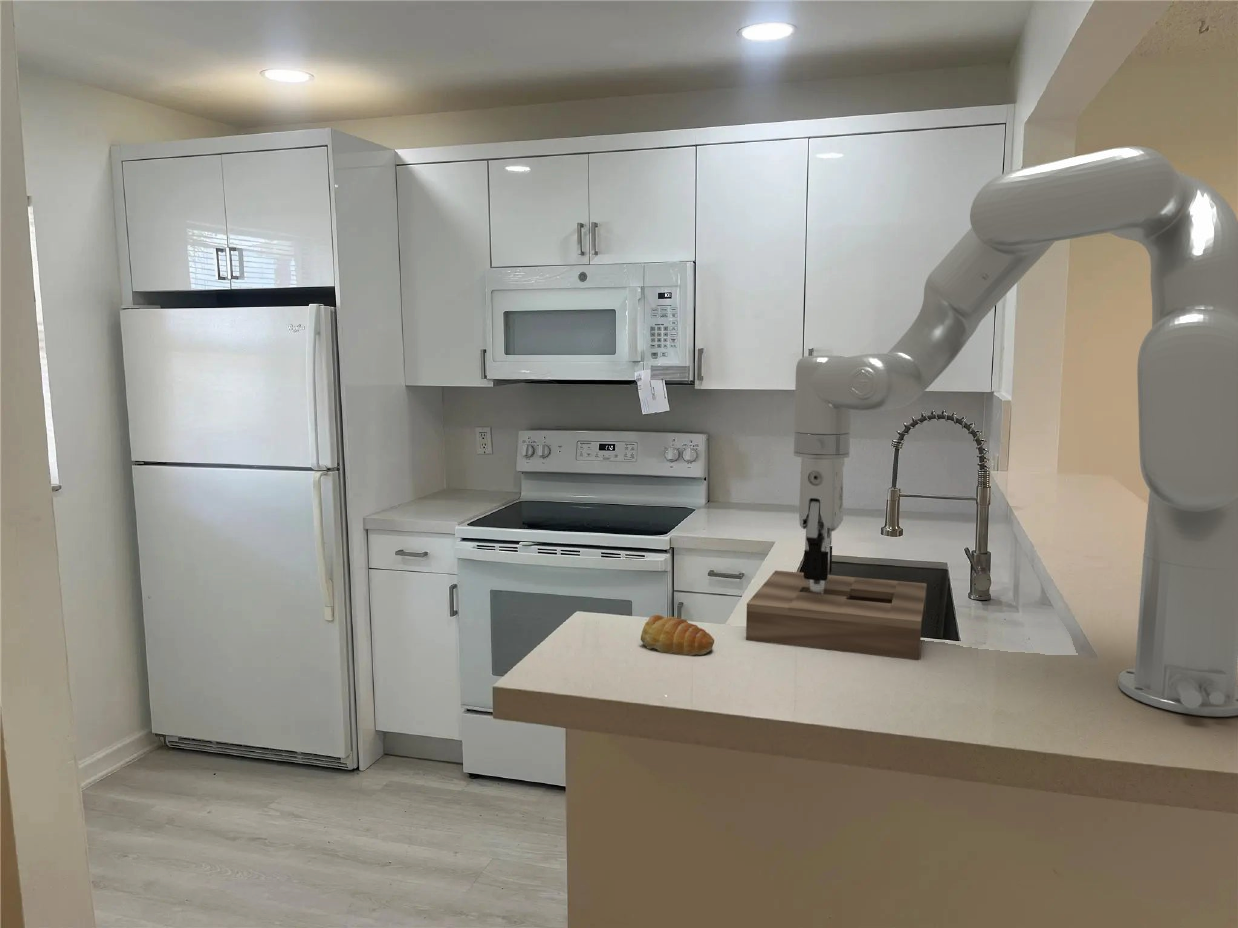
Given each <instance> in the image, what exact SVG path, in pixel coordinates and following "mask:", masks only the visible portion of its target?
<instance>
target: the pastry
mask: <svg viewBox="0 0 1238 928" xmlns="http://www.w3.org/2000/svg"><path fill="white" fill-rule="evenodd" d="M640 641H641V642H642V644H644V646H646V648H647V647H648V648H647V649H650V650H652V649H653V648H654V649H655V650H657V651H659V652H662V653H665V654H667V653H668V654H669V653H670V654H673V655H682V656H694V655H698V656H699V655H700V656H701V655H702V656H703V655H705V654H707V653H708V652H710V651H712V650H713V646H714V644H715V639H714V638H713V636H712V635H711V634H710V633H709V632H708V631H706V630H705V629H703V628H701V627H699V626H698V625H697V624H693V623H691V622H688V620H687V619H685V618H677V617H675V616H670V617H665V616H663V615H660V614H654V615H651V616H649V619H648V620H647V621H646V622H645V624H644V625H643V628H642V631H641V635H640Z"/></svg>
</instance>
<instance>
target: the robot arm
mask: <svg viewBox="0 0 1238 928" xmlns="http://www.w3.org/2000/svg"><path fill="white" fill-rule="evenodd" d="M976 193H977V194H976V196H975V197H974V199H973V201H972V203H971V206H970V211H969V220H970V221H969V223H970V228H969V230H967V232H966V233H964V235H963V236H962V237H961V238H960V239H959V241H958V242H957V243H956V244H955V246H953V247H952V249H951V250H950V251H949V252H948V253H947V255H945V256H944V258H943V259H942V260H941V261H940V262H939V263H938V265H936V267H935V268H934V269H932V271H931V272H930V273H929V275H928V276H927V278H926V280H925V283H924V286H923V287H924V288H923V301H922V305H921V308H920V310H919V312H918V314H917V316H916V318H915V320H914V321H913V323H912V324H911V325H910V326H909V328H908V329H907V331H906V332H905V333H904V334H903V335H902V336H901V337H900V339H898V341H896V342H895V344H894V345H893V346H892V347H891V348H890V349H889V350H888V352H886V353H869V354H868V353H867V354H860V355H859V354H858V355H854V356H851V355H850V356H842V355H807V356H806V355H805V356H803V357H801V358H799V360H798V361H797V363H796V366H795V387H794V388H795V395H794V421H793V422H794V426H793V427H794V432H793V457H796V458H800V459H801V460H800V461H801V462H800V470H799V471H800V472H799V473H800V476H799V479H800V481H799V501H798V502H799V505H798V506H799V509H798V512H799V513H798V514H799V517H798V519H799V520H798V521H799V522H798V523H799V526H800V527H801V529H802V530H805V544H804V552H803V573H804V578H805V579H809V580H820V581H826V580H827V578H828V575H831V573H832V572H833V571H832V567H833V566H832V564H833V563H832V561H833V545H832V542H833V541H832V540H833V539H832V538H833V537H832V535H833V534H832V533H833V532H834V531H837V529H838V528H839V527H840V526H841V524H842V522H843V521H844V463H843V462H844V461H843V459H849V458H850V449H851V447H850V446H851V421H852V420H851V419H852V410H854V411H858V412H863V413H864V412H865V413H866V412H867V413H876V412H883V411H887V410H896V409H901V408H905V407H906V406H908V405H910V404H912V403H914V401H916V400H917V399H918V398H920V396H922V395H923V394H924V392H925V391H926V390H927V389H929V387H930V386H931V385H932V384H933V383H935V381H936V380H937V379H938V378H939V377H940V376H941V375H942V374H943V373H944V372H945V371H946V370H947V368H948V367H949V366H950V365H951V364H952V362H954V360H955V359H956V357H958V355H959V354H960V352H961V351H962V350H963V348H964V347H965V346H966V344H967V342H969V341H970V338H971V337H972V336H973V335H974V333H975V332H976V330H977V328H978V326H979V325H980V323H981V322H982V321H983V319H984V318H986V317H987V315H988V314H989V313H990V312H991V311H992V310H993V308H994V307H995V306H997V305H998V303H999V302H1000V301H1001V300H1002V299H1003V298H1004V297H1005V296H1006V295H1007V294H1008V293H1009V292H1010V291H1011V290H1012V289H1013V287H1015V285H1016V284H1017V283H1018V282H1019V281H1020V280H1021V279H1022V278H1023V277H1024V276H1025V275H1026V274H1027V272H1029V270H1030V269H1031V268H1032V267H1033V266H1034V265H1035V264H1036V263H1037V262H1038V261H1039V260H1040V259H1041V258H1042V257H1043V256H1044V254H1046V253H1047V251H1048V250H1049V249H1051V247H1052V246H1054V244H1055V243H1056V242H1059V241H1066V240H1072V239H1077V238H1083V237H1090V236H1096V235H1102V234H1109V233H1110V234H1111V235H1114V236H1116V237H1117V238H1120V239H1126V240H1130V241H1133V242H1138V243H1139V244H1141V245H1142V246H1143V247H1144V248H1145V249H1146V251H1147V254H1148V255H1149V259H1150V290H1151V291H1150V292H1151V293H1150V294H1151V315H1152V316H1151V317H1152V318H1151V328H1150V330H1148V332H1147V334H1146V335H1145V336H1144V339H1143V340H1142V342H1141V345H1140V346H1139V347H1140V348H1139V351H1138V357H1137V365H1136V366H1137V368H1136V369H1137V370H1136V371H1137V372H1136V373H1137V374H1136V375H1137V376H1136V377H1137V405H1138V407H1137V408H1138V410H1137V411H1138V413H1137V414H1138V439H1139V441H1138V442H1139V443H1138V444H1139V446H1138V447H1139V461H1140V463H1139V465H1140V471H1141V472H1140V473H1141V475H1142V478H1143V480H1144V483H1145V485H1146V487H1147V488H1148V489H1149V493H1148V503H1147V511H1146V512H1147V513H1146V523H1145V531H1144V545H1143V546H1144V547H1143V554H1142V556H1143V557H1142V567H1141V568H1142V570H1141V580H1140V593H1139V605H1138V606H1139V607H1138V609H1139V610H1138V621H1137V635H1136V648H1135V650H1136V651H1135V662H1134V667H1133V668H1127V669H1125V670H1122V671H1121V672H1120V673H1119V674H1118V679H1117V681H1118V682H1117V685H1118V687H1119V689H1120V690H1121V691H1122V692H1123V693H1124V694H1125V695H1127V696H1128V697H1131V698H1132V699H1134V700H1136V701H1138V702H1140V703H1141V702H1142V703H1144V704H1147V705H1149V706H1152V707H1156V708H1158V709H1162V710H1166V711H1170V712H1175V713H1181V714H1187V715H1191V716H1200V717H1201V716H1202V717H1216V718H1220V717H1223V718H1225V717H1235V716H1238V685H1237V684H1236V683H1237V675H1238V674H1237V672H1238V671H1237V670H1238V217H1237V216H1236V214H1235V212H1234V210H1233V208H1232V207H1231V205H1230V204H1229V202H1228V201H1227V200H1226V199H1225V198H1224V197H1223V195H1221V194H1220V193H1219V192H1218V191H1217V190H1216V189H1215V188H1213V187H1212V186H1211V185H1209V184H1207V183H1206V182H1204V181H1202V180H1200V179H1198V178H1196V177H1193V176H1191V175H1189V174H1186V173H1183V172H1180V171H1178V170H1176V169H1175V168H1174V166H1173V164H1172V163H1171V162H1170V161H1169V159H1167V157H1165V156H1164V155H1163V154H1162V153H1160V152H1158V151H1156V150H1154V149H1152V148H1148V147H1144V146H1137V145H1135V146H1134V145H1132V146H1131V145H1127V146H1120V147H1112V148H1108V149H1107V148H1106V149H1103V150H1102V149H1101V150H1098V151H1094V152H1090V153H1085V154H1081V155H1077V156H1073V157H1068V158H1067V157H1066V158H1064V159H1058V160H1054V161H1049V162H1044V163H1040V164H1036V165H1031V166H1027V167H1022V168H1018V169H1014V170H1010V171H1007V172H1005V173H1002V174H1000V175H997V176H995V177H994V178H992V179H991V180H989V181H987V183H985V184H984V186H982V187H981V188H980V190H979V191H978V192H976ZM821 536H822V537H821ZM827 537H829V538H830V561H829V574H828V552H826V546H827Z"/></svg>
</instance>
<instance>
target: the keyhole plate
mask: <svg viewBox="0 0 1238 928" xmlns="http://www.w3.org/2000/svg"><path fill="white" fill-rule="evenodd" d="M926 601H927V583H925V582H912V581H903V580H889V579H878V578H866V577H854V576H853V577H852V576H844V575H831V574H828V578H827V580H826V581H825V582H824V594H816V593H810V580H809V579H805V578H804V572H799V571H798V572H797V571H788V570H787V571H786V570H777V569H775V570H774V571H773V572H772V574H771V575H770V576H769V577H768V579H766V581H765V582H764V583H763V584H762V586H761V587H760V588H759V589H758V590H757V591H756V592H755V593H754V595H752V597H751V598H750V599H749V600H748V601H747V603H746V620H745V621H746V624H745V625H746V627H745V631H746V632H745V641H754V642H760V643H761V642H762V643H770V644H777V645H778V644H780V645H788V646H796V647H804V648H812V649H819V650H820V649H821V650H822V649H823V650H831V651H838V652H848V653H855V654H856V653H857V654H862V655H863V654H864V655H873V656H879V657H880V656H881V657H891V658H896V659H897V658H900V659H907V660H917V661H920V657H921V641H922V640H921V638H922V637H921V636H922V634H921V633H922V622H923V620H926V608H927V607H926V604H927V602H926Z"/></svg>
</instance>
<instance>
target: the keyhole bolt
mask: <svg viewBox="0 0 1238 928" xmlns="http://www.w3.org/2000/svg"><path fill="white" fill-rule="evenodd" d="M821 537H822V536H821ZM830 546H831V545H830V538H829V537H827V546H826V552H828V575H830V574H829V561H830ZM824 582H825V581H820V580H810V593H816V594H824Z"/></svg>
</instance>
